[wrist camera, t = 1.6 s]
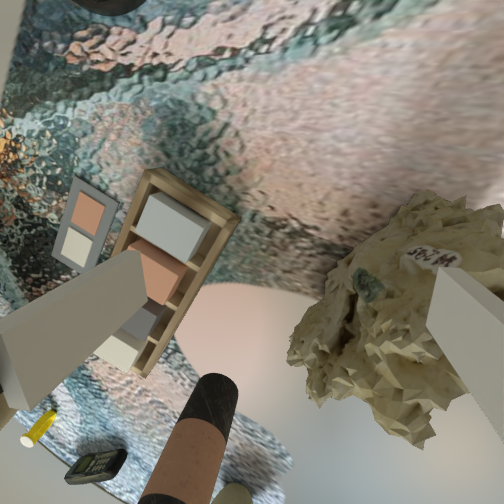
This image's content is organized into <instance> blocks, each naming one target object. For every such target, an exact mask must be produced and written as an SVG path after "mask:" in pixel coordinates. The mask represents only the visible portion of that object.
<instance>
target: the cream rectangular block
mask: <svg viewBox="0 0 504 504" xmlns="http://www.w3.org/2000/svg"><path fill="white" fill-rule="evenodd" d="M148 341H149V340H148V339H146V340H145V341H144V342H143V341H141V340H139V339H138V338H136V337H134V336H133V335H131V334H130V333H128V332H126V331H125V330H123V329H121V328H119V329H118V330H117V331H115V332H114V333H113V334H112V335H111V336H110V337H109V338H108V339H107V340H106V341H105V342H104V343H103V344H102V345H101V346H100V347H98V348H97V349H96V350H95V351H94V352H93V353H94V354H95V355H97V356H98V357H100V358H102V359H103V360H105V361H107V362H108V363H110V364H112V365H113V366H115V367H116V368H118V369H120V370H121V371H123V372H125V373H126V374H127V373H128V372H129V371H130V369H131V368H132V367H133V366H134V365H135V363H136V362H137V361H138V360H139V358H140V356H141V354H142V352H143V350H144V348H145V347H146V345H147V343H148Z"/></svg>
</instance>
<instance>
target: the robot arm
mask: <svg viewBox="0 0 504 504" xmlns="http://www.w3.org/2000/svg"><path fill="white" fill-rule="evenodd" d="M72 1H73V2H75V3H77V4H78V5H80V6H81V7H83V8H85V9H86V10H88V11H90V12H93V13H95V14H99V15H104V16H118V15H122V14H126V13H128V12H131V11H133V10H134V9H136V8H138V7H139V6H140V5H142V4H143V3H144V2H145V1H146V0H72ZM147 301H148V298H147V292H146V286H145V279H144V273H143V267H142V261H141V254H140V251H136V250H125V251H123V252H121V253H119V254H117V255H116V256H114V257H112V258H110V259H108V260H106V261H105V262H103V263H101V264H99V265H97V266H95V267H94V268H92V269H90V270H88V271H86V272H85V273H83V274H81V275H79V276H77V277H75V278H74V279H72V280H70V281H68V282H66V283H64V284H63V285H61V286H59V287H57V288H55V289H53V290H52V291H50V292H48V293H46V294H44V295H43V296H41V297H39V298H37V299H35V300H33V301H32V302H30V303H28V304H26V305H24V306H22V307H21V308H19V309H17V310H15V311H13V312H11V313H10V314H8V315H6V316H4V317H2V318H1V319H0V394H1V393H3V394H4V396H5V399H6V401H7V403H8V406H9V408H14V409H19V410H25V411H32V410H33V409H34V408H35V407H36V406H37V405H38V404H39V403H40V402H41V401H42V400H43V399H44V398H45V397H46V396H47V395H49V394H50V393H51V392H52V391H53V390H54V389H55V388H56V387H57V386H58V385H59V384H60V383H61V382H62V381H63V380H64V379H66V378H67V377H68V376H69V375H70V374H71V373H72V372H73V371H74V370H75V369H76V368H77V367H78V366H79V365H80V364H81V363H83V362H84V361H85V360H86V359H87V358H88V357H89V356H90V355H91V354H92V353H93V352H94V351H95V350H96V349H97V348H98V347H100V346H101V345H102V344H103V343H104V342H105V341H106V340H107V339H108V338H109V337H110V336H111V335H112V334H113V333H114V332H115V331H117V330H118V329H119V328H120V327H121V326H122V325H123V324H124V323H125V322H126V321H127V320H128V319H129V318H130V317H131V316H132V315H134V314H135V313H136V312H137V311H138V310H139V309H140V308H141V307H142V306H143V305H144V304H145V303H146V302H147ZM425 326H426V327H427V329H428V330H429V332H430V333H431V335H432V336H433V338H434V339H435V341H436V342H437V344H438V345H439V347H440V348H441V350H442V351H443V353H444V354H445V356H446V357H447V359H448V360H449V362H450V363H451V365H452V366H453V368H454V369H455V371H456V372H457V374H458V375H459V377H460V378H461V380H462V381H463V383H464V384H465V386H466V387H467V389H468V390H469V392H470V393H471V395H472V396H473V398H474V399H475V401H476V402H477V404H478V405H479V407H480V408H481V410H482V411H483V412H484V414H485V416H486V417H487V419H488V420H489V422H490V423H491V425H492V426H493V428H494V429H495V431H496V432H497V434H498V435H499V437H500V438H501V439H502V441H503V443H504V302H503V301H502V300H501V299H500V298H498V297H497V296H496V295H494V294H493V293H492V292H491V291H489V290H488V289H487V288H485V287H484V286H483V285H482V284H480V283H479V282H478V281H476V280H475V279H474V278H473V277H471V276H470V275H469V274H467V273H466V272H465V271H464V270H462V269H461V268H451V267H439V269H438V273H437V277H436V282H435V286H434V291H433V295H432V299H431V304H430V308H429V312H428V317H427V321H426V325H425Z"/></svg>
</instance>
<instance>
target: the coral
mask: <svg viewBox="0 0 504 504" xmlns="http://www.w3.org/2000/svg"><path fill="white" fill-rule="evenodd" d="M465 204H466V196H464V197H462V198H460V199H458V200H455V201H453V202H450V201H447V200H445V199H443V198H440V197H438V196H436V194H435V193H434V192H432V191H430V190H428V189H427V190H425V191H424V192H422V193H420V194H419V195H415V194H414V195H413V197H412V199H411V201H410V203H409V204H408V205H407V206H406V207H405V206H403V205H401V207H400V209H399V211H398V214H397V215H396V216H394V217H391V218H390V221H389V224H388V226H387V227H385V228H383V229H381V230H379V231H378V232H376V233H374V234H373V235H372V236H370V237H369V238H368V239H367V240H366V241H364V242H362V243H360V244H358V245H355V247H354V249H353V251H352V252H351V253H350V254H348V255H347V256H346V257H345V258H344V259H342V260H339V261H337V263H338V267H337V268H335V269H332V270H331V271H330V272H329V273H327V276H328V280H326V281H325V295H324V298H323V299H322V300H321V301H319V302H318V303H317V304H315V305H313V306H311V307H309V308H308V310H307V312H306V313H305V314H304V316H303V318H302V320H301V322H300V323H299V324H298V325H297V326H296V327H295V329H294V333H293V334H292V335H291V336H290V337H289V338H290V339H291V340H289V341H290V342H291V345H290V349H289V350H288V352H287V354H288V357H287V360H286V361H287V363H288V364H289V365H290V366H293V365H294V366H296V367H298V366H302V365H305V366H306V367H307V370H308V374H309V376H308V378H307V380H306V383H307V385H306V393H307V394H309V399H310V400H312V401H314V402H315V403H316V404H317V406H318V407H319V408H320V407H321V406H322V405H323V403H324V402H325V401H326V399H327V398H329V397H332V396H334V399H336V400H342V399H344V398H346V397H348V396H351V395H354V396H356V397H358V398H360V399H362V400H363V401H365V402H367V403H368V404H369V405H370V406H371V408H372V411H373V414H374V418H375V421H376V422H377V423H379V425H380V426H381V427H382V428H383V429H384V430H385V431H386V432H387V433H388V434H389V435H394V436H398V437H402V438H404V439H405V440H406V441H408V442H409V443H411V444H412V445H413V446H415V447H417V448H419V449H422V450H423V448H424V441H425V440H426V439H428V438H430V437H433V436H435V435H436V434H435V432H434V430H433V428H432V427H431V425H430V424H429V421H430V419H431V416H430V415H429V413H430V411H431V410H432V409H433V408H436V409H440V410H444V411H446V410H447V408H448V406H449V404H450V402H451V400H453V399H455V398H457V397H459V396H461V395H463V394H466V393H470V392H469V390H468V389H467V387H466V386H465V384H464V383H463V381H462V380H461V378H460V377H459V375H458V374H457V372H456V371H455V369H454V368H453V366H452V365H451V363H450V362H449V360H448V359H447V357H446V356H445V354H444V353H443V351H442V350H441V348H440V347H439V345H438V344H437V342H436V341H435V339H434V338H433V336H432V335H431V333H430V332H429V330H428V329H427V327H426V326H425V325H426V321H427V317H428V312H429V308H430V304H431V299H432V295H433V291H434V286H435V282H436V277H437V273H438V269H439V267H451V268H461V269H462V270H464V271H465V272H466V273H467V274H469V275H470V276H471V277H473V278H474V279H475V280H476V281H478V282H479V283H480V284H482V285H483V286H484V287H485V288H487V289H488V290H489V291H491V292H492V293H493V294H494V295H496V296H497V297H498V298H500V299H501V300H502V301H503V302H504V239H503V238H501V234H502V226H503V220H504V210H503V209H502V207H501V205H500V204H496V205H491V206H487V207H485V208H483V209H479V210H477V211H474V210H471V209H465Z"/></svg>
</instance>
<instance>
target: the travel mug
mask: <svg viewBox="0 0 504 504" xmlns="http://www.w3.org/2000/svg"><path fill="white" fill-rule="evenodd" d="M237 400H238V389H237V386H236V385H235V383H234V382H233V381H232V380H231V379H230V378H228V377H227V376H224V375H222V374H218V373H209V374H206V375H204V376H203V377H201V378H200V380H199V381H198V383H197V385H196V387H195V388H194V390H193V392H192V394H191V396H190V398H189V400H188V402H187V404H186V405H185V407H184V409H183V411H182V413H181V415H180V417H179V419H178V421H177V423H176V425H175V426H174V428H173V431H172V433H171V435H170V437H169V439H168V441H167V443H166V445H165V447H164V449H163V451H162V454H161V456H160V458H159V460H158V462H157V464H156V466H155V468H154V470H153V472H152V475H151V477H150V479H149V481H148V483H147V485H146V487H145V489H144V491H143V493H142V495H141V498H140V500H139V502H138V504H209V503H210V500H211V496H212V493H213V490H214V486H215V483H216V479H217V476H218V472H219V469H220V466H221V462H222V459H223V455H224V452H225V448H226V445H227V441H228V436H229V432H230V428H231V424H232V420H233V416H234V412H235V408H236V404H237Z"/></svg>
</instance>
